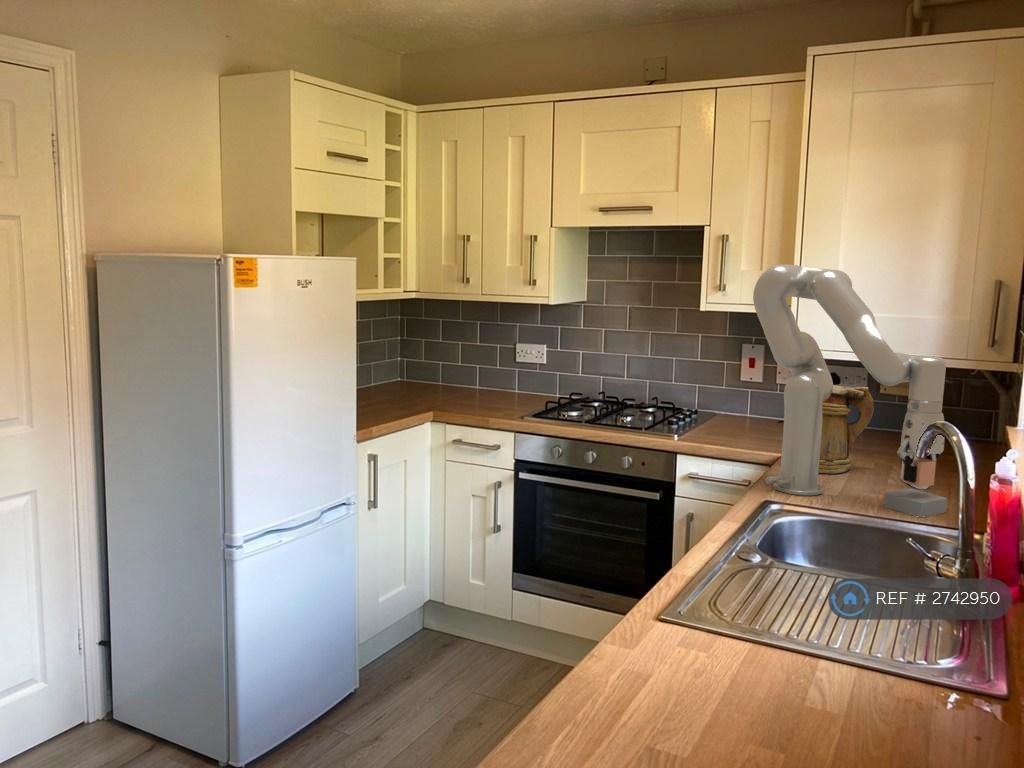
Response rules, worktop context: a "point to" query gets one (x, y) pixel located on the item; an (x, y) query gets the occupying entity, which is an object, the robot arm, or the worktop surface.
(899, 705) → the worktop surface
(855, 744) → the worktop surface
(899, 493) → the slate block
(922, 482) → the terracotta block
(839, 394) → the tankard
